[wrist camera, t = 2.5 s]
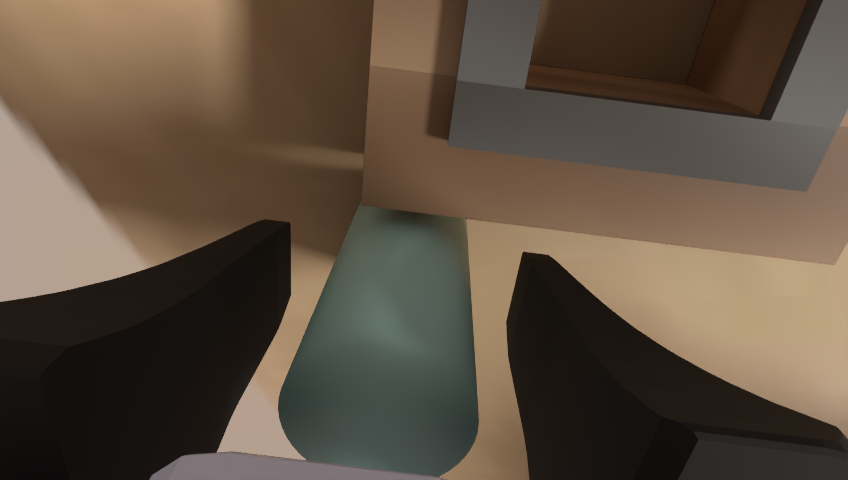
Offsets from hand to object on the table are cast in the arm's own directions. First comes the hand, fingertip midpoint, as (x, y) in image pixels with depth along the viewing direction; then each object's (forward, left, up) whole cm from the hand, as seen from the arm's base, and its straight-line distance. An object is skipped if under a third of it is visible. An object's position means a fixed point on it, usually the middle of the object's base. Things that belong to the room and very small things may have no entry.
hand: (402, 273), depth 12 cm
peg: (0, 0, -2) cm, 2 cm away
